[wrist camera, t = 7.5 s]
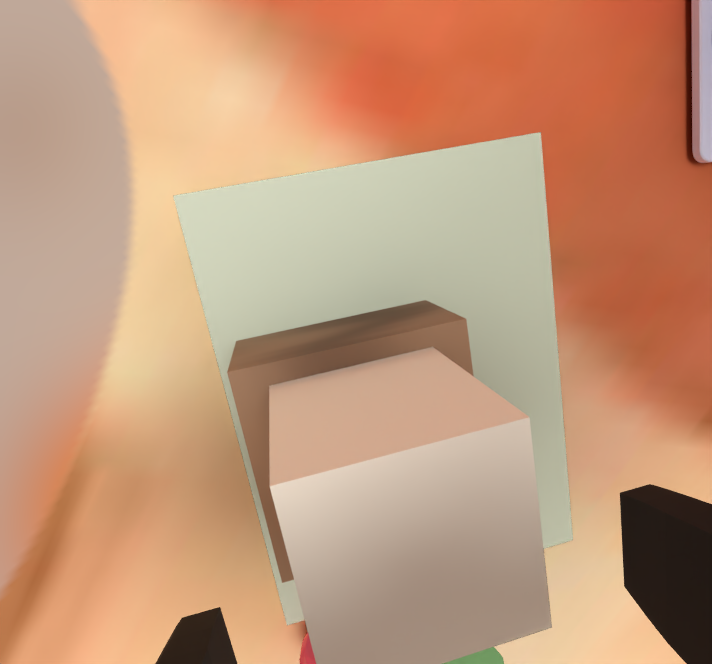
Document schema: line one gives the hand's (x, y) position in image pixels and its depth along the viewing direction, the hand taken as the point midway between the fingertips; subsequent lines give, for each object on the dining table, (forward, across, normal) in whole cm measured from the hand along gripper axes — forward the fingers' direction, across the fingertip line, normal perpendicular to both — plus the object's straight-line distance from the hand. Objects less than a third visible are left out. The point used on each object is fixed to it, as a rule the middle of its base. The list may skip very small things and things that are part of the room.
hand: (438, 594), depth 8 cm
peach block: (+5, 0, 0) cm, 5 cm away
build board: (+9, -2, 0) cm, 10 cm away
